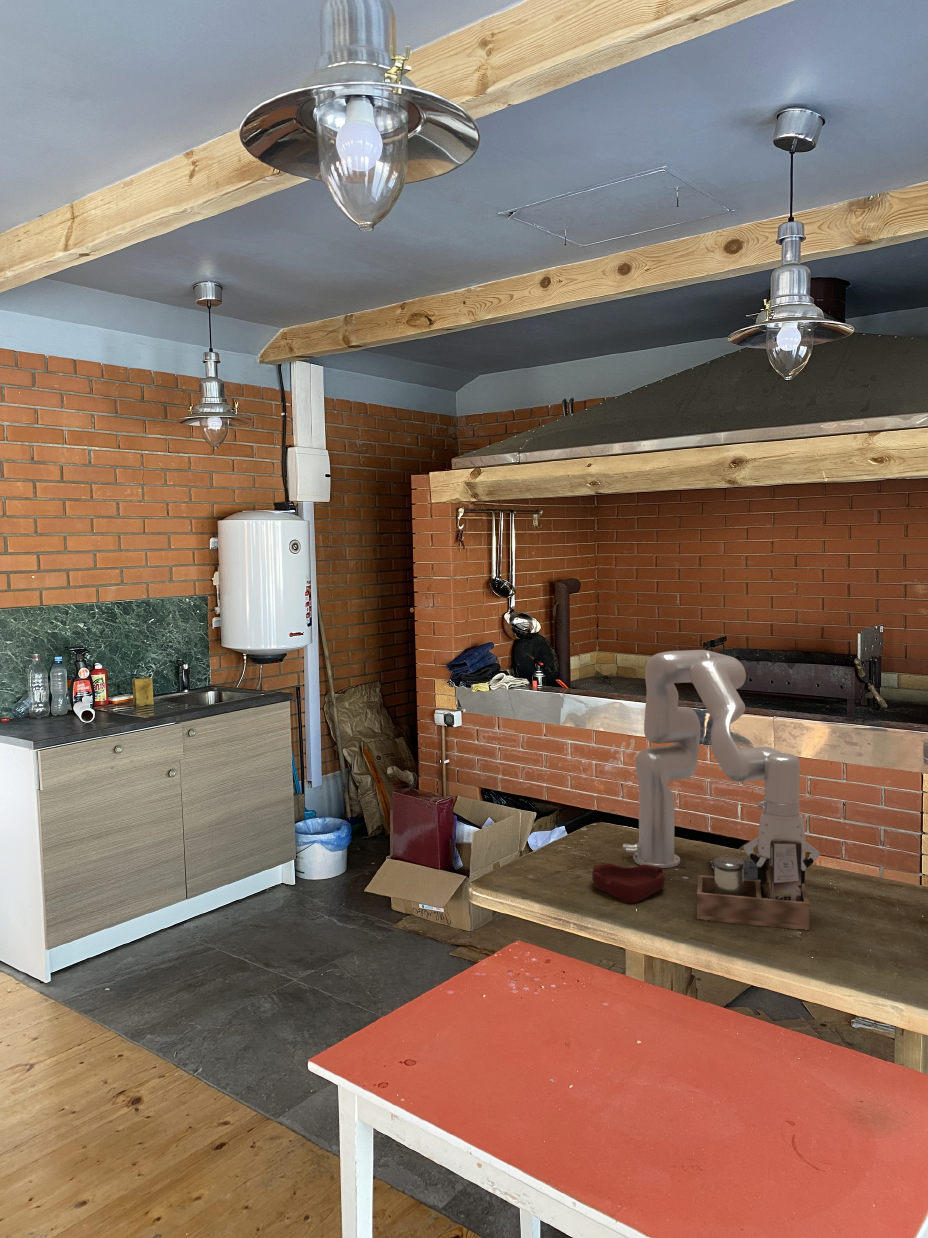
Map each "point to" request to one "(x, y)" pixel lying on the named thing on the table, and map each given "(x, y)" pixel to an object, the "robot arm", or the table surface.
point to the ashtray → (628, 881)
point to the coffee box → (783, 872)
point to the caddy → (750, 906)
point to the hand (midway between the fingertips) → (780, 883)
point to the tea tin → (729, 876)
